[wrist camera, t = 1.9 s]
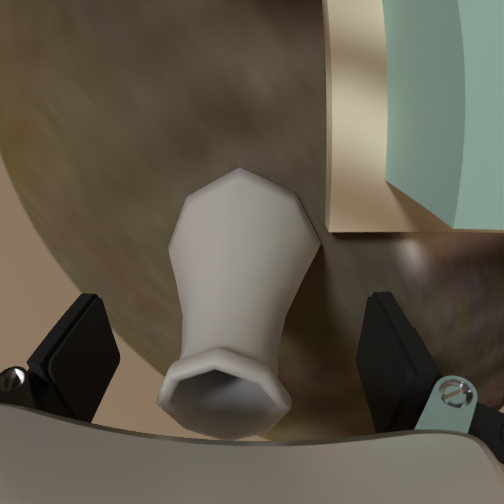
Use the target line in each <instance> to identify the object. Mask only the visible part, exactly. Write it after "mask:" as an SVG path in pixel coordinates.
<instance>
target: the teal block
mask: <svg viewBox="0 0 504 504" xmlns="http://www.w3.org/2000/svg"><path fill="white" fill-rule="evenodd" d="M382 5H383V15H384V26H385V39H386V56H387V88H388V118H387V151H386V169H385V180H386V181H387V182H389V183H390V184H392V185H393V186H395V187H396V188H398V189H399V190H401V191H402V192H404V193H405V194H406V195H408V196H409V197H411V198H412V199H414V200H415V201H416V202H418V203H419V204H421V205H422V206H423V207H425V208H426V209H428V210H429V211H430V212H432V213H433V214H434V215H436V216H437V217H438V218H440V219H441V220H442V221H444V222H445V223H446V224H448V225H449V226H450V227H452V228H453V229H492V230H504V0H382Z"/></svg>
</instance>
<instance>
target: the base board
mask: <svg viewBox="0 0 504 504" xmlns="http://www.w3.org/2000/svg"><path fill="white" fill-rule="evenodd" d="M322 8H323V22H324V38H325V60H326V93H327V164H326V199H325V222H324V223H325V225H326V227H327V229H328V231H329V232H474V233H504V230H492V229H453V228H452V227H450V226H449V225H448V224H446V223H445V222H444V221H442V220H441V219H440V218H438V217H437V216H436V215H434V214H433V213H432V212H430V211H429V210H428V209H426V208H425V207H423V206H422V205H421V204H419V203H418V202H416V201H415V200H414V199H412V198H411V197H409V196H408V195H406V194H405V193H404V192H402V191H401V190H399V189H398V188H396V187H395V186H393V185H392V184H390V183H389V182H387V181H386V180H385V169H386V151H387V118H388V88H387V56H386V39H385V26H384V15H383V5H382V0H322Z"/></svg>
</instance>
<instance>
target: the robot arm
mask: <svg viewBox="0 0 504 504" xmlns="http://www.w3.org/2000/svg"><path fill="white" fill-rule="evenodd" d="M119 362H120V353H119V351H118V347H117V345H116V342H115V339H114V336H113V333H112V330H111V326H110V323H109V320H108V317H107V314H106V310H105V307H104V304H103V301H102V299H101V298H99V297H98V295H97V294H86V293H83V294H81V295H80V296H79V297H78V298H77V299H76V301H75V302H74V303H73V304H72V305H71V307H70V308H69V309H68V310H67V311H66V313H65V314H64V315H63V316H62V317H61V319H60V320H59V321H58V322H57V324H56V325H55V326H54V327H53V328H52V330H51V331H50V332H49V333H48V335H47V336H46V337H45V338H44V340H43V341H42V342H41V344H40V345H39V346H38V348H37V349H36V350H35V351H34V353H33V354H32V355H31V357H30V358H29V359H28V361H27V364H28V366H29V369H28V371H26V369H24V368H23V367H20V366H13V367H10V368H7V369H5V370H4V371H2V372H1V373H0V504H504V413H501V412H499V411H497V410H494V409H492V408H490V407H487V406H485V405H482V404H480V403H478V402H477V392H476V389H475V387H474V386H473V385H472V384H471V383H470V382H469V381H468V380H466V379H464V378H462V377H458V376H446V377H442V375H441V373H440V371H439V369H438V367H437V366H436V364H435V362H434V360H433V358H432V357H431V355H430V353H429V351H428V349H427V348H426V346H425V344H424V343H423V341H422V339H421V337H420V336H419V334H418V332H417V331H416V329H415V328H414V327H412V326H411V325H410V323H409V321H408V319H407V318H406V316H405V315H404V313H403V311H402V310H401V308H400V306H399V305H398V303H397V301H396V300H395V298H394V297H393V295H392V293H391V292H374V293H373V295H372V297H368V299H367V304H366V309H365V315H364V321H363V326H362V331H361V336H360V341H359V346H358V351H357V355H356V365H357V368H358V371H359V375H360V378H361V381H362V385H363V388H364V391H365V395H366V398H367V401H368V405H369V408H370V412H371V415H372V419H373V422H374V426H375V430H376V433H377V434H369V435H361V436H352V437H341V438H329V439H316V440H298V441H225V440H207V439H193V438H183V437H173V436H164V435H156V434H149V433H142V432H136V431H129V430H123V429H118V428H112V427H107V426H102V425H97V424H92V423H91V422H92V420H93V417H94V415H95V413H96V411H97V408H98V406H99V404H100V402H101V400H102V398H103V396H104V394H105V391H106V389H107V387H108V385H109V383H110V381H111V379H112V377H113V375H114V373H115V371H116V369H117V367H118V365H119Z"/></svg>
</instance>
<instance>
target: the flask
mask: <svg viewBox="0 0 504 504" xmlns="http://www.w3.org/2000/svg"><path fill="white" fill-rule="evenodd" d="M320 244H321V242H320V240H319V238H318V236H317V234H316V232H315V230H314V228H313V226H312V224H311V222H310V220H309V218H308V216H307V214H306V212H305V210H304V208H303V206H302V204H301V202H300V200H299V198H298V196H297V194H296V193H294V192H292V191H290V190H288V189H286V188H284V187H282V186H279V185H277V184H275V183H273V182H271V181H269V180H266V179H264V178H262V177H260V176H257V175H255V174H253V173H251V172H248V171H246V170H244V169H242V168H237V169H235V170H234V171H232V172H230V173H228V174H226V175H224V176H223V177H221V178H219V179H217V180H215V181H214V182H212V183H210V184H208V185H206V186H205V187H203V188H201V189H199V190H198V191H196V192H194V193H192V194H191V195H189V196H187V197H186V200H185V203H184V205H183V208H182V210H181V213H180V216H179V218H178V221H177V224H176V226H175V229H174V232H173V235H172V237H171V240H170V243H169V246H168V249H169V255H170V259H171V263H172V267H173V270H174V274H175V278H176V283H177V288H178V294H179V299H180V304H181V309H182V313H183V329H182V352H181V356H180V360H178V361H176V362H174V363H173V364H172V365H171V367H170V368H169V370H168V372H167V375H166V377H165V380H164V382H163V384H162V387H161V389H160V392H159V394H158V397H157V401H156V404H157V405H158V406H159V407H161V408H162V409H163V410H164V411H165V412H166V413H167V414H168V415H170V416H171V417H172V418H173V419H174V420H176V422H178V423H179V424H180V425H181V426H182V427H183V428H185V429H187V430H190V431H193V432H197V433H200V434H203V435H206V436H210V437H213V438H217V439H220V440H225V441H233V440H237V439H242V438H246V437H251V436H255V435H259V434H263V433H267V432H269V431H270V430H271V429H272V428H273V427H274V426H275V425H276V424H277V423H278V422H279V421H280V420H281V419H282V418H283V416H284V415H285V414H286V413H287V412H288V411H289V410H290V409H291V408H292V400H291V397H290V395H289V393H288V392H287V390H286V389H285V388H284V387H283V385H282V384H281V383H280V381H279V380H278V349H279V344H280V340H281V335H282V331H283V326H284V322H285V317H286V314H287V312H288V310H289V308H290V306H291V304H292V302H293V299H294V297H295V295H296V293H297V291H298V289H299V287H300V284H301V282H302V280H303V278H304V276H305V274H306V272H307V270H308V268H309V266H310V265H311V263H312V261H313V259H314V257H315V255H316V253H317V251H318V249H319V247H320Z"/></svg>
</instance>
